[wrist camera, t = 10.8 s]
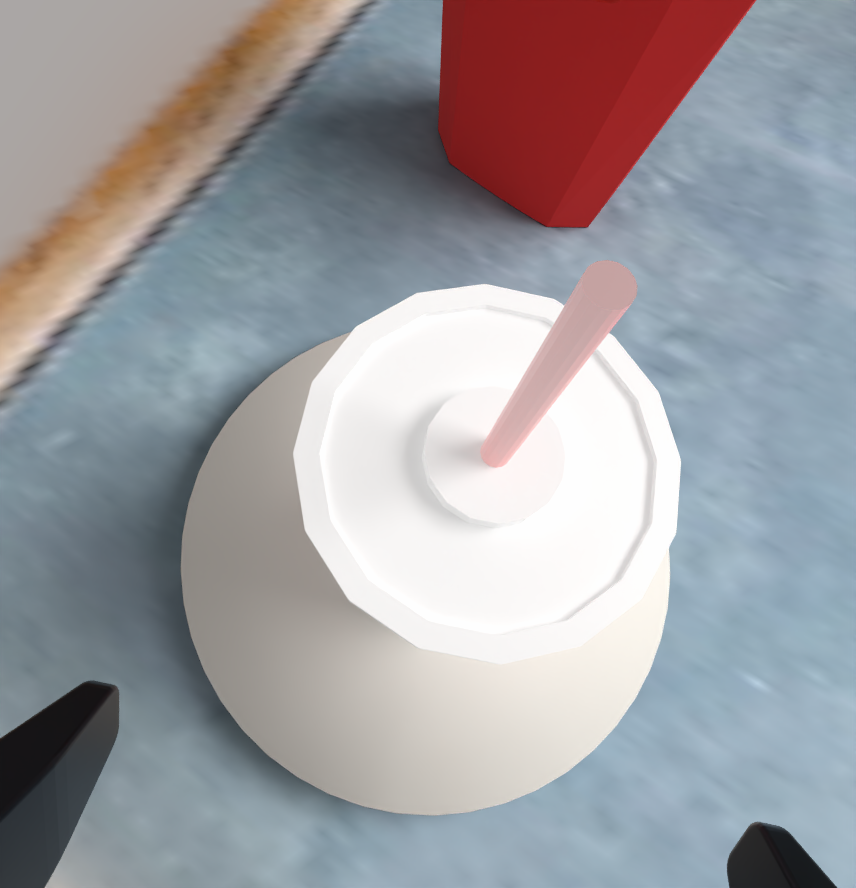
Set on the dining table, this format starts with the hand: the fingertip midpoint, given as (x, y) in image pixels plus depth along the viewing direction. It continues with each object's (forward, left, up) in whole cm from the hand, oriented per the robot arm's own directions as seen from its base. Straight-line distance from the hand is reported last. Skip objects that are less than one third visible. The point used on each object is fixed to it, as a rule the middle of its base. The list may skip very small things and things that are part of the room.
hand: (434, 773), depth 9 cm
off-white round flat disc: (+5, 0, -10) cm, 11 cm away
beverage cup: (+5, 0, -9) cm, 10 cm away
